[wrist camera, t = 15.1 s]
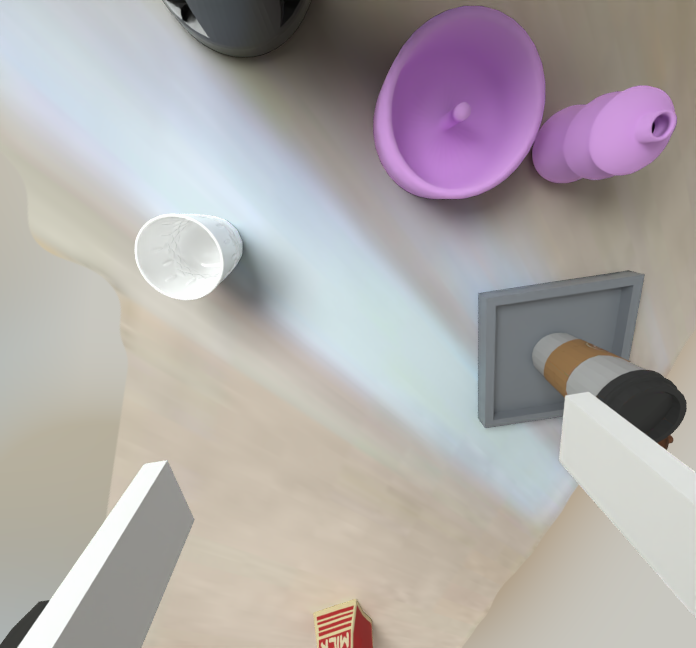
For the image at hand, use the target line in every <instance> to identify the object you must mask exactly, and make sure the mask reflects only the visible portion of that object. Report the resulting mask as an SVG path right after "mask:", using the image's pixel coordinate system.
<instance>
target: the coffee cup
mask: <svg viewBox="0 0 696 648" xmlns="http://www.w3.org/2000/svg"><path fill="white" fill-rule="evenodd" d="M532 360H533V365H534V366H535V368H536V369H537V370H538V371H539V372H540V373H541V374H542V375H543V376H544V377H545V379H546V380H547V381H548V382H549V383H550V384H551V385H552V386H553V387H554V388H555V389H556V390H557V391H558V392H559V393H560V394H561V395H562V396H563V397H564V398H565V396H566V395H572V394H578V393H584V392H590V393H591V394H592V395H594V396H595V397H596V398H598V399H599V400H600V401H602V402H603V403H604V404H606V405H607V406H608V407H610V408H611V409H612V410H614V411H615V412H616V413H618V414H619V415H620V416H622V417H623V418H624V419H626V420H627V421H628V422H630V423H631V424H632V425H634V426H635V427H636V428H638V429H639V430H640V431H642V432H643V433H644V434H646V435H647V436H648V437H650V438H651V439H652V440H654V441H655V442H656V443H658V442H660V441H662V440H664V439H665V438H667V437H668V436H669V435H670V434H672V433H673V432H674V430H676V429H677V427H678V426H679V425H680V423H681V422H682V420H683V418H684V416H685V412H686V400H685V398H684V396H683V394H681V392H680V391H679V390H677V387H676V386H675V385H674V384H673V383H672V382H671V381H670V380H668V379H666V378H664V377H663V376H662V375H661V374H659V373H657V372H655V371H651V370H646V369H643V368H641V367H639V366H637V365H635V364H633V363H631V362H630V361H628V360H626V359H624V358H621V357H619V356H617V355H615V354H613V353H610V352H608V351H606V350H604V349H602V348H599V347H597V346H595V345H593V344H591V343H588V342H586V341H584V340H582V339H578V338H576V337H574V336H571V335H569V334H567V333H552V334H549V335H547V336H545V337H543V338H542V339H541V340H540V341H539V342H538V343H537V344H536V345H535V347H534V349H533V352H532Z"/></svg>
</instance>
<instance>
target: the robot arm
mask: <svg viewBox="0 0 696 648" xmlns="http://www.w3.org/2000/svg"><path fill="white" fill-rule="evenodd" d="M162 1H163V2H164V4H165V5H166V6H167V8H168V9H169V10H170V12H171V13H172V14H173V15H174V16H175V18H176V19H177V20H178V21H179V22H180V24H181V25H182V26H183V27H184V28H185V29H186V30H187V31H188V32H189V33H190V34H191V35H192V36H193V37H195V38H196V39H197V40H198V41H200V42H201V43H203V44H204V45H206V46H207V47H209V48H211V49H213V50H215V51H217V52H220V53H223V54H226V55H230V56H235V57H253V56H258V55H262V54H265V53H268V52H270V51H272V50H274V49H276V48H277V47H279V46H280V45H282V44H283V43H284V42H285V41H286V40H288V39H289V38H290V36H291V35H292V34H293V33H294V32H295V31H296V29H297V28H298V26H299V25H300V23H301V22H302V20H303V18H304V16H305V14H306V12H307V9H308V7H309V4H310V1H311V0H162ZM559 462H560V463H561V464H562V465H563V466H564V468H565V469H566V470H567V471H568V472H569V473H570V474H571V476H572V477H573V478H574V479H575V480H576V481H577V483H578V484H579V485H580V486H581V487H582V488H583V489H584V491H585V492H586V493H587V494H588V495H589V496H590V497H591V499H592V500H593V501H594V502H595V503H596V504H597V505H598V507H599V508H600V509H601V510H602V511H603V512H604V514H605V515H606V516H607V517H608V518H609V519H610V521H611V522H612V523H613V524H614V525H615V526H616V527H617V529H619V531H620V532H621V533H622V534H623V535H624V537H625V538H626V539H627V540H628V541H629V542H630V543H631V545H632V546H633V547H634V548H635V549H636V550H637V552H638V553H639V554H640V555H641V556H642V557H643V558H644V560H645V561H646V562H647V563H648V564H649V565H650V567H651V568H652V569H653V570H654V571H655V572H656V573H657V575H658V576H659V577H660V578H661V579H662V580H663V582H664V583H665V584H666V585H667V586H668V587H669V588H670V590H671V591H672V592H673V593H674V594H675V595H676V597H677V598H678V599H679V600H680V601H681V602H682V603H683V605H684V606H685V607H686V608H687V609H688V610H689V611H690V613H691V614H692V615H693V616H694V617H695V618H696V472H695V471H693V470H692V469H691V468H690V467H688V466H687V465H685V464H684V463H683V462H682V461H680V460H679V459H678V458H676V457H675V456H674V455H672V454H671V453H670V452H668V451H667V450H666V449H664V448H663V447H662V446H660V445H659V444H658V443H656V442H655V441H654V440H652V439H651V438H650V437H648V436H647V435H646V434H644V433H643V432H642V431H640V430H639V429H638V428H636V427H635V426H634V425H632V424H631V423H630V422H628V421H627V420H626V419H624V418H623V417H622V416H620V415H619V414H618V413H616V412H615V411H614V410H612V409H611V408H610V407H608V406H607V405H606V404H604V403H603V402H602V401H600V400H599V399H598V398H596V397H595V396H594V395H592V394H591V393H590V392H584V393H578V394H572V395H566V396H565V403H564V413H563V423H562V433H561V443H560V453H559ZM193 522H194V518H193V515H192V513H191V511H190V509H189V507H188V504H187V502H186V500H185V498H184V496H183V493H182V491H181V489H180V487H179V485H178V483H177V480H176V478H175V476H174V474H173V472H172V469H171V467H170V465H169V463H168V461H167V460H166V461H159V462H153V463H147V464H144V465H143V467H142V468H141V469H140V471H139V472H138V474H137V475H136V477H135V478H134V480H133V481H132V482H131V484H130V485H129V487H128V488H127V490H126V491H125V493H124V494H123V495H122V497H121V498H120V500H119V501H118V503H117V504H116V506H115V507H114V509H113V510H112V511H111V513H110V514H109V516H108V517H107V519H106V520H105V522H104V523H103V524H102V526H101V528H100V529H99V530H98V532H97V533H96V535H95V536H94V538H93V539H92V540H91V542H90V543H89V545H88V546H87V548H86V549H85V550H84V552H83V553H82V555H81V556H80V558H79V559H78V561H77V562H76V564H75V565H74V567H73V568H72V569H71V571H70V572H69V574H68V575H67V577H66V578H65V579H64V581H63V582H62V584H61V585H60V587H59V588H58V590H57V591H56V592H55V594H54V595H53V597H52V598H51V600H48V601H41V602H39V603H38V604H37V605H35V607H33V608H32V610H31V611H30V612H28V613H27V614H26V615H25V616H24V618H22V619H21V620H20V621H19V623H17V625H15V626H14V627H13V629H12V630H11V631H10V632H9V634H8V635H7V636H6V638H5V639H4V640H3V642H2V643H1V644H0V648H141V647H142V644H143V642H144V640H145V637H146V635H147V632H148V630H149V628H150V625H151V623H152V620H153V618H154V616H155V613H156V611H157V608H158V606H159V604H160V601H161V599H162V596H163V594H164V592H165V589H166V587H167V584H168V582H169V580H170V577H171V575H172V572H173V570H174V568H175V565H176V563H177V560H178V558H179V556H180V553H181V551H182V548H183V546H184V544H185V541H186V539H187V536H188V534H189V532H190V529H191V527H192V524H193Z"/></svg>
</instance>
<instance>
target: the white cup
mask: <svg viewBox="0 0 696 648" xmlns="http://www.w3.org/2000/svg"><path fill="white" fill-rule="evenodd" d="M242 247H243V242H242V240H241V237H240V235H239V233H238V231H237V229H236V228H235V227H234V226H233V225H231V224H230V223H229V222H228V221H227V220H225V219H222V218H219V217H217V216H213V215H212V216H209V215H202V214H165V215H160V216H157V217H155V218H153V219H151V220H150V221H148V222H147V223H146V224H145V225H144V226H143V227H142V228H141V230H140V232H139V233H138V236H137V238H136V242H135V258H136V262H137V265H138V268H139V270H140V272H141V274H142V275H143V277H144V278H145V279H146V281H147V282H148V283H149V284H150V285H151V286H152V287H153V288H154V289H156V290H157V291H159V292H160V293H162V294H164V295H166V296H168V297H171V298H174V299H179V300H194V299H199V298H202V297H204V296H206V295H208V294H209V293H210V292H212V291H213V290H214V289H215V288H216V287H217V286H218V285H219V284H220V283H221V282H222V281H223V280H224V279H225V278H226V277H227V276H228V275H229V274H230V273H231V271H232V270H233V269H234V268H235V267H236V266H237V264H238V262H239V260H240V258H241V256H242Z"/></svg>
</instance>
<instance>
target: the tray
mask: <svg viewBox="0 0 696 648" xmlns="http://www.w3.org/2000/svg"><path fill="white" fill-rule="evenodd" d="M644 276H645V274H641V273H636V272H632V271H623V272H616V273H609V274H603V275H596V276H589V277H583V278H576V279H569V280H563V281H556V282H549V283H543V284H536V285H529V286H523V287H516V288H509V289H503V290H496V291H490V292H483V293H478V418H479V420H480V421H481V423H482V424H483V426H484V427H485V428H489V427H496V426H502V425H509V424H516V423H522V422H529V421H536V420H542V419H549V418H556V417H562V416H563V413H564V403H565V398H564V397H563V396H562V395H561V394H560V393H559V392H558V391H557V390H556V389H555V388H554V387H553V386H552V385H551V384H550V383H549V382H548V381H547V380H546V379H545V377H544V376H543V375H542V374H541V373H540V372H539V371H538V370H537V369H536V368H535V366H534V365H533V360H532V352H533V349H534V347H535V345H536V344H537V343H538V342H539V341H540V340H541V339H542V338H543V337H545V336H547V335H549V334H552V333H567V334H569V335H571V336H574V337H576V338H578V339H582V340H584V341H586V342H588V343H591V344H593V345H595V346H597V347H599V348H602V349H604V350H606V351H608V352H610V353H613V354H615V355H617V356H619V357H621V358H624V359H626V360H628V361H629V356H630V351H631V346H632V340H633V335H634V329H635V324H636V319H637V313H638V308H639V303H640V297H641V292H642V286H643V281H644Z"/></svg>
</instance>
